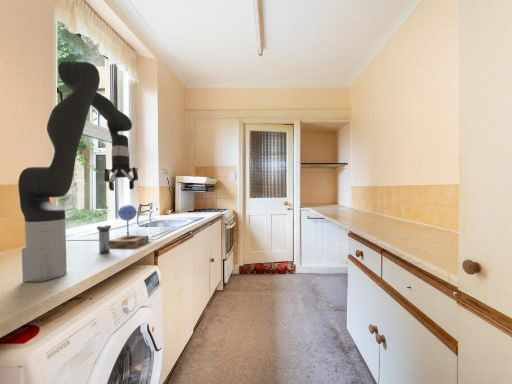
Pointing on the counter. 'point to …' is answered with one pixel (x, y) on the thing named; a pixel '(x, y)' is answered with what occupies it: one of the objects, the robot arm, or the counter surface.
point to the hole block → (128, 241)
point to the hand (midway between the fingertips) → (121, 189)
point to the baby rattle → (127, 213)
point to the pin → (104, 239)
